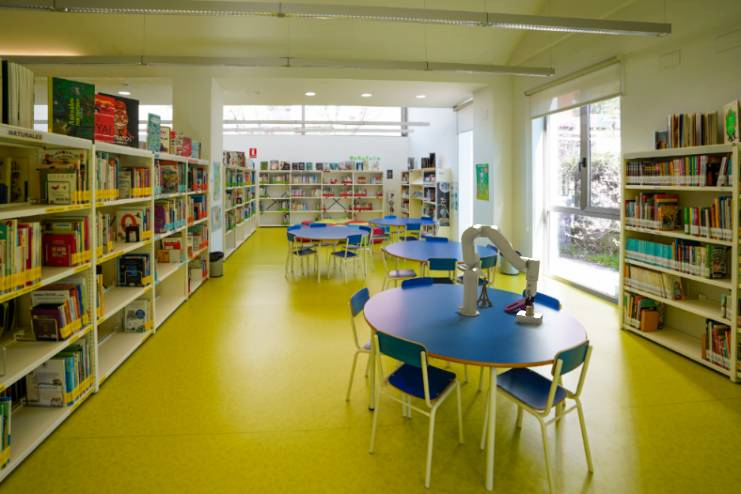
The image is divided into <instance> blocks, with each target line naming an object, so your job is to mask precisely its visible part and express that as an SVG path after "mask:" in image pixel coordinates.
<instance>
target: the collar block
mask: <svg viewBox="0 0 741 494" xmlns="http://www.w3.org/2000/svg"><path fill="white" fill-rule="evenodd" d="M515 318H516V319H515V321H516V322H517V323H522V324H527V325H532V326H540V325H541V324H543V318H544V314H543V313H539V312H534V316H530V315H526V311H523V310H519V311H518V312H517V313H516V317H515ZM516 322H515V323H516Z"/></svg>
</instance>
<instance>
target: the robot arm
mask: <svg viewBox="0 0 741 494" xmlns="http://www.w3.org/2000/svg"><path fill="white" fill-rule="evenodd" d="M478 238H487V239H488V240H489V241H490V242H491V243H492V244H493V245H494V247H496V249H498V250H499V252H500V254H502V256H503V257H504V259H505V260H506V262H508V263H509V264H510V266H512V267H513V268H514V269H515V270H516V271H523V270H524V269H526V271H525V281H526V284H525V285H526V286H525V297H526V298H525V306H530V302H532V303H533V304H534V303H535V296H536V295H537V290H538V282H539V276H540V275H539V274H540V267H541V266H540V264H541V261H540V259H539V258H532V257H531V258H530V257H525V256H520V255H519V254H518V253H517V252H516V251H515V249H514V248H513V245H512V243H511V241H509V239H508V238H507V237H506V236H505V235H504V234H503V233H502V232H501V229H500V227H499V226H497V225H487V224H474V225H471V226H469V227H468V228H466V229H465V230H464V231H463V232H462V234H461V238H460V240H461V241H460V242H461V243H460V244H461V253H462V262H463V264H464V265H465V266H466V269H465V271H464V272H463V275H462V278H463V279H462V283H463V287H462V289H463V291H462V295H463V296H462V305H457V306H456V308H457V310H459V313H460V314H461V315H463V316H467V317H477V316H479V314H480V311H478V305H477V300H478V298H479V296H478V295H479V294H478V293H479V278H480V277H481V276H482V275H481V274H482V268H481V258H480V254H479V252H478V251H476V247H475V245H476V244H475V239H478Z"/></svg>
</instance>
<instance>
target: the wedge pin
mask: <svg viewBox="0 0 741 494" xmlns="http://www.w3.org/2000/svg"><path fill="white" fill-rule="evenodd" d="M534 313H535V306H527V307H526V315H530V316H534Z"/></svg>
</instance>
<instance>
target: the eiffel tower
mask: <svg viewBox="0 0 741 494" xmlns="http://www.w3.org/2000/svg"><path fill="white" fill-rule="evenodd" d="M482 279H483V282H482V287H481V291H480V296H478V298H477V306H479V305H480V306H479V308H480V309H485V308H486V305H488V306H489V307H490V308H493V307H494V308H495V306H494V304H493V303H492V302H491V300H490V298H489V295H488V294H489V292H488V289H487V279H488V278H487V277H486V276H483V277H482ZM480 302H481V304H480Z"/></svg>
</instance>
